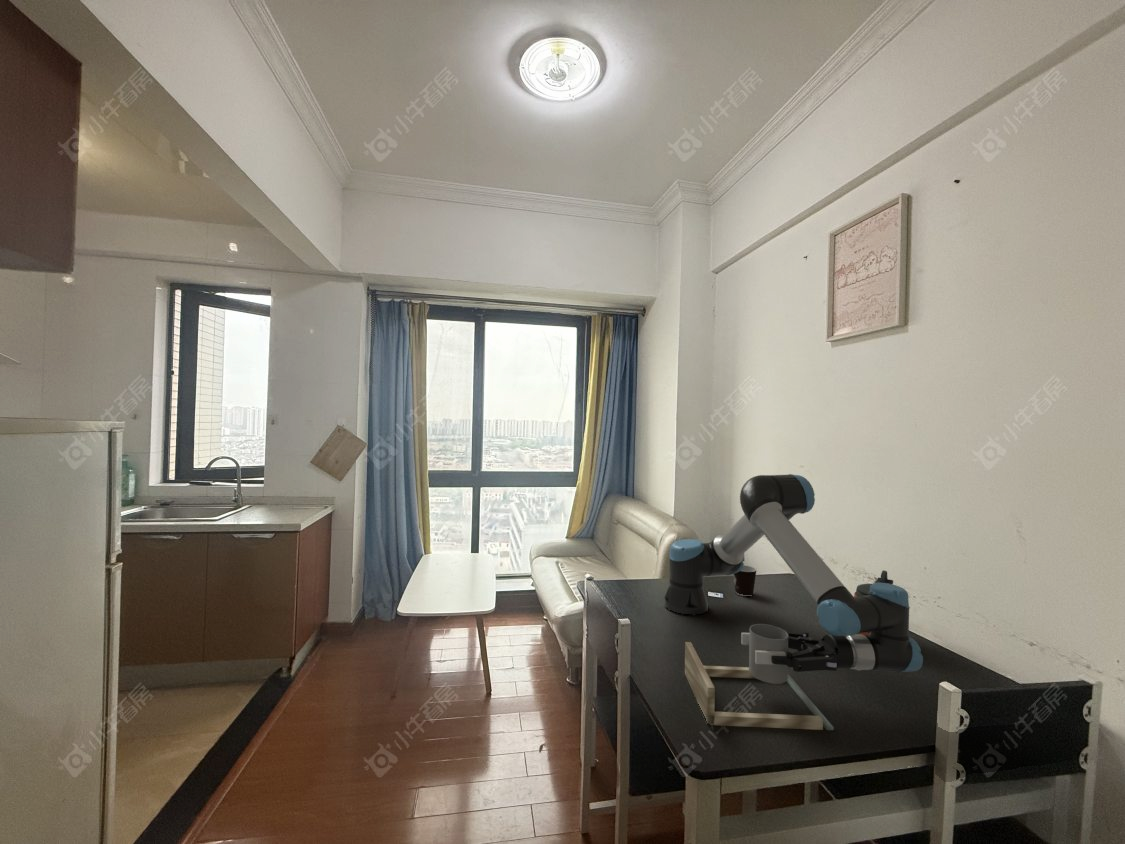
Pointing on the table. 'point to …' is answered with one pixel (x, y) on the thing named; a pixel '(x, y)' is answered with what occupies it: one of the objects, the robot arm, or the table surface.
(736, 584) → the coffee mug
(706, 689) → the bay
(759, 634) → the cup
